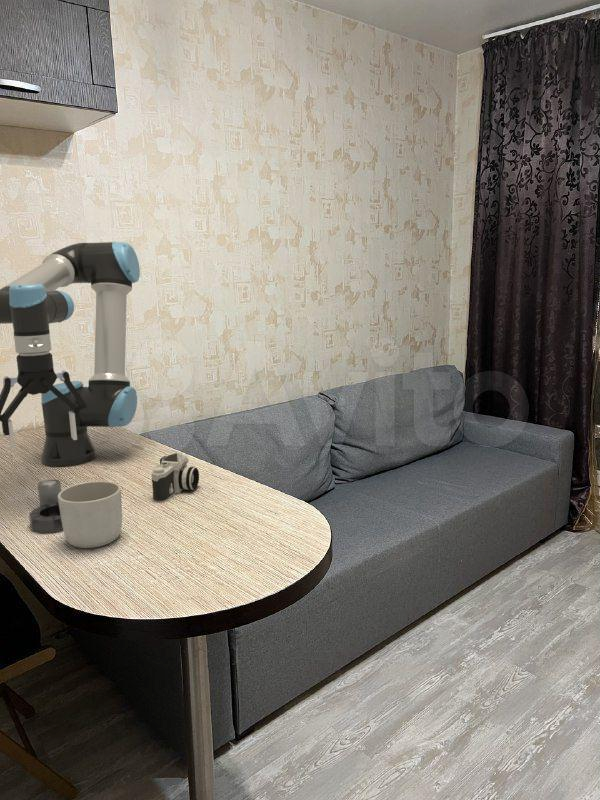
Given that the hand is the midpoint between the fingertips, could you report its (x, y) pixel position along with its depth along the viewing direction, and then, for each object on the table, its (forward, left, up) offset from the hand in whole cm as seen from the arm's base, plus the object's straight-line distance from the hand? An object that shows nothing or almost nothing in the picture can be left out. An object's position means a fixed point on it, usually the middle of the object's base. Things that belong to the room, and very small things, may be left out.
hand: (44, 443), depth 145 cm
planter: (+24, +4, -16) cm, 29 cm away
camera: (+8, +29, -16) cm, 34 cm away
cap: (0, 0, -16) cm, 16 cm away
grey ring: (+11, -1, -16) cm, 19 cm away
